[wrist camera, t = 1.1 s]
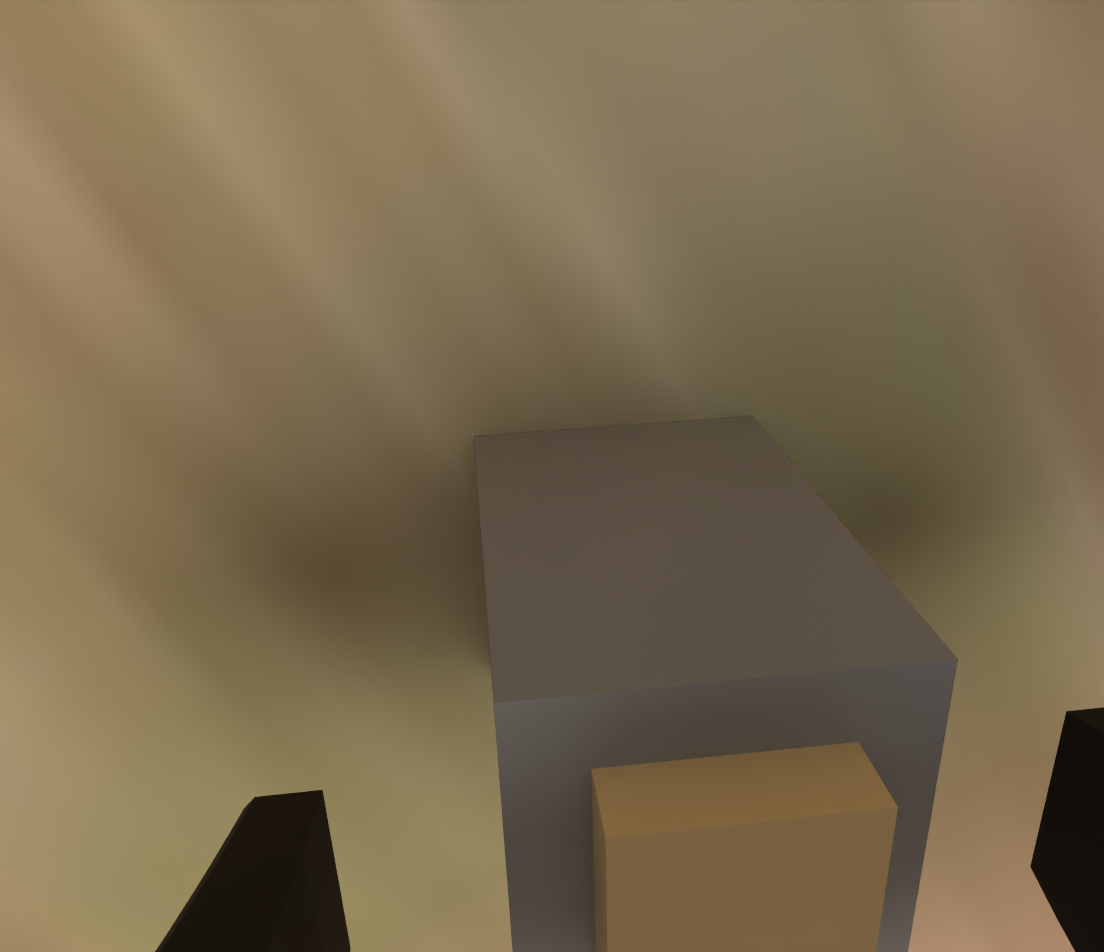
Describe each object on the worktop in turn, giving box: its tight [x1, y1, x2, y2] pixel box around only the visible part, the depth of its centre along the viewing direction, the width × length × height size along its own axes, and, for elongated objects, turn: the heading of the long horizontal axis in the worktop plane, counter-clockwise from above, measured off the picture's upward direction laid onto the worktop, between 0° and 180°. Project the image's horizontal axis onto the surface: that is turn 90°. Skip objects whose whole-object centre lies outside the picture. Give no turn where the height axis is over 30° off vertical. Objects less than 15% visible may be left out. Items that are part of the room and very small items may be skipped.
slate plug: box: [474, 416, 958, 952], centre depth 11 cm, size 4×4×7 cm
